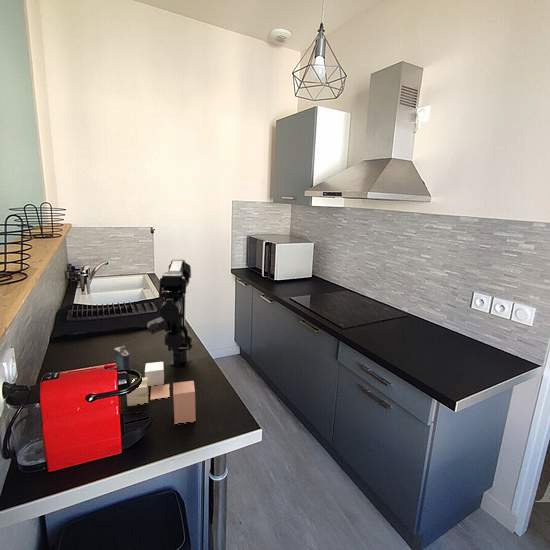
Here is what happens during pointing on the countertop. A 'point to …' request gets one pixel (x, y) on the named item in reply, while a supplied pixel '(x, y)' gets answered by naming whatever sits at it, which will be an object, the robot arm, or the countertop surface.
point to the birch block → (139, 393)
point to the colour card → (160, 392)
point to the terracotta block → (184, 402)
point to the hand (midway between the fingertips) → (175, 352)
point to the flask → (122, 358)
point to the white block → (155, 373)
